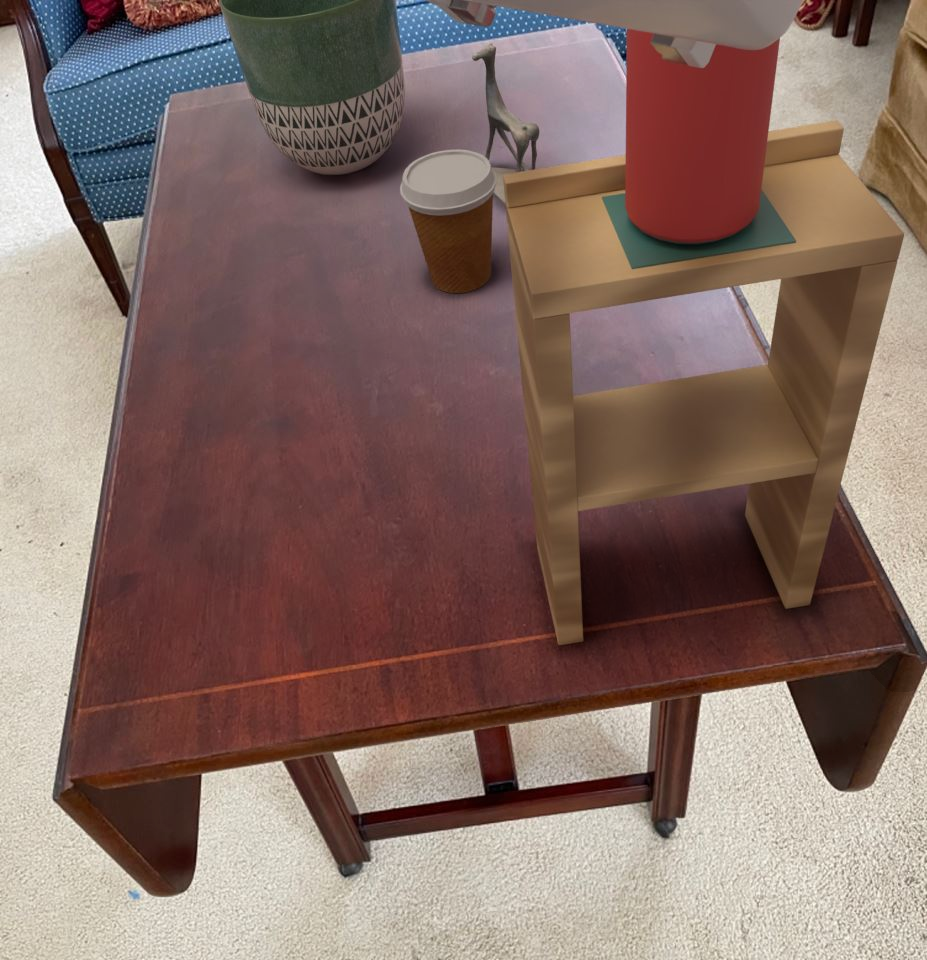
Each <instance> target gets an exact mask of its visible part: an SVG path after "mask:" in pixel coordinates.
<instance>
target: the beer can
mask: <svg viewBox="0 0 927 960" xmlns="http://www.w3.org/2000/svg"><path fill="white" fill-rule="evenodd" d="M653 35H654V33H649V32H643V31H637V30H631V29H626V65H625V66H626V69H625V70H626V73H625V75H626V76H625V77H626V78H625V79H626V80H625V81H626V82H625V96H626V97H625V155H626V172H625V208H626V211H627V214H628V216H629V219H630V221H631V222H632V223H633V224H634V225H636V226H637V227H638V228H639V229H640V230H641V231H642V232H643V233H645V234H647V235H649V236H651V237H654V238H656V239H658V240H661V241H666V242H670V243H675V244H693V245H696V244H703V243H711V242H715V241H718V240H721V239H724V238H727V237H730V236H733V235H734V234H736V233H738V232H739V231H741V230H742V229H744V228H745V227H747V226H748V225H749V224H750V222H751V221H752V220H753V218H754V217H755V215H756V214H757V213H758V211H759V204H760V196H761V188H762V180H763V172H764V164H765V155H766V147H767V139H768V131H770V123H771V114H772V104H773V100H774V99H773V97H774V91H775V90H774V89H775V84H776V83H775V82H776V75H777V66H778V57H779V50H780V49H779V48H780V41H781V37H780V38H779V39H778V40H776V41H775V42H774V43H772V44H771V45H769V46H767V47H765V48H763V49H760V50H745V49H738V48H733V47H728V46H723V45H718V44H716V46H715V48H714V51H713V53H712V56H711V58H710V60H709V63H708V64H707V65H706V66H705V67H704V68H697V67H692V66H689V65H683V64H678V63H674V62H669V61H664V60H663V58H662V54H660V53H659V52H657V51H656V50H655V48H654V47H653V46H652V45H651V43H650V42H651V40H652V37H653Z"/></svg>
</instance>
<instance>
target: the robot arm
mask: <svg viewBox="0 0 927 960" xmlns="http://www.w3.org/2000/svg"><path fill="white" fill-rule="evenodd" d="M425 1H426V2H428V3H430V4H432V5H434V6H435V5H436V6H437V7H438V8H440V9H441V10H442V11H443V12H445V14H447V15H448V16H449V17H450V18H451V19H453V20H454V21H455V22H457V23H461V24H466V25H470V26H477V27H483V28H486V27H490V26H491V25H492V23H493V22H494V20H495V17H496V8H497V7H500V8H505V9H510V10H515V11H516V10H517V11H521V12H522V11H524V12H527V13H528V12H529V13H535V14H540V15H545V16H551V17H557V18H562V19H569V20H573V21H579V22H584V23H585V22H586V23H591V24H597V25H604V26H610V27H613V28H614V27H615V28H620V29H626V30H627V29H631V30H637V31H643V32H649V33H654V35H653V37H652V40H651V42H650V43H651V45H652V46H653V47H654V48H655V50H656V51H657V52H659V53H660V54H662V58H663V60H664V61H669V62H674V63H678V64H683V65H689V66H692V67H697V68H704V67H705V66H706V65H707V64H708V63H709V60H710V58H711V56H712V53H713V51H714V48H715V46H716V44H718V45H723V46H728V47H733V48H738V49H745V50H760V49H763V48H765V47H767V46H769V45H771V44H772V43H774V42H775V41H776V40H778V39H779V38H780V39H781V38H782V37H783V36H784V35H785V34H786V33H787V31H788V30H789V29H790V27H791V25H792V24H793V22H794V20H795V18H796V16H797V14H798V12H799V10H800V9H801V6H802V3H803V2H804V0H425Z"/></svg>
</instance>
